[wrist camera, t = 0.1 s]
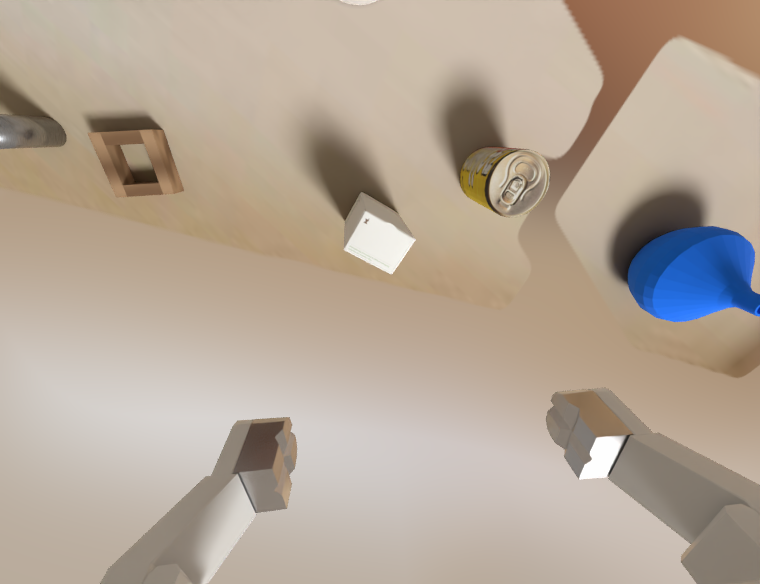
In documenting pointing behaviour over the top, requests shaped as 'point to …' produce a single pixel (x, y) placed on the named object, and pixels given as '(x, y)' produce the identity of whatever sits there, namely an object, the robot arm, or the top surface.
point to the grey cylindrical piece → (30, 132)
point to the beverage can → (505, 179)
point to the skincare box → (376, 234)
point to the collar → (119, 169)
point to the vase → (694, 274)
